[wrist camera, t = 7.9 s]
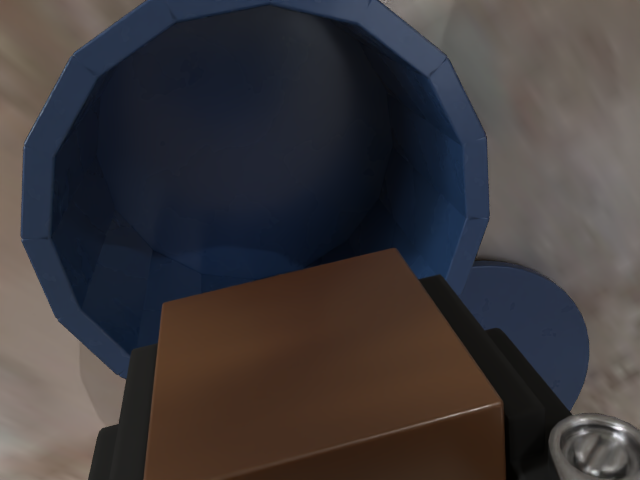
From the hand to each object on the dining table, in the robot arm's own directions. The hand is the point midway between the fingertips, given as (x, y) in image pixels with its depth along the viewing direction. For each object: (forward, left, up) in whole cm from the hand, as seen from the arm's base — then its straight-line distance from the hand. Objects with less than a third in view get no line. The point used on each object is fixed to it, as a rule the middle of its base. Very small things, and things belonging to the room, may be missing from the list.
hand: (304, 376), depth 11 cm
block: (0, 0, 0) cm, 0 cm away
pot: (0, 0, -15) cm, 15 cm away
